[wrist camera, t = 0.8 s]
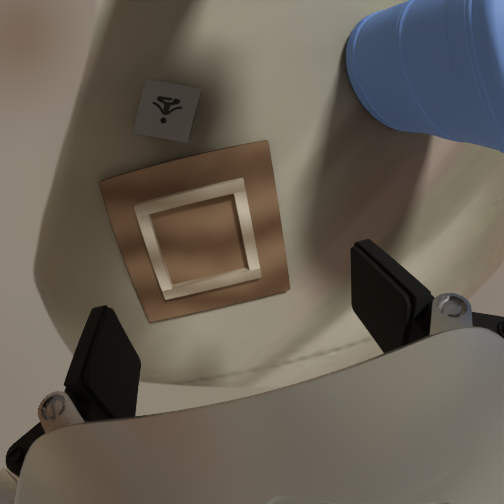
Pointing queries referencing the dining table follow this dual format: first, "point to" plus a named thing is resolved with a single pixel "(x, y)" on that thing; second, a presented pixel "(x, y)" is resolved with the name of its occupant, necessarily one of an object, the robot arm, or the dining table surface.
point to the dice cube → (166, 110)
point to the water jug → (433, 68)
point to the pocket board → (200, 230)
